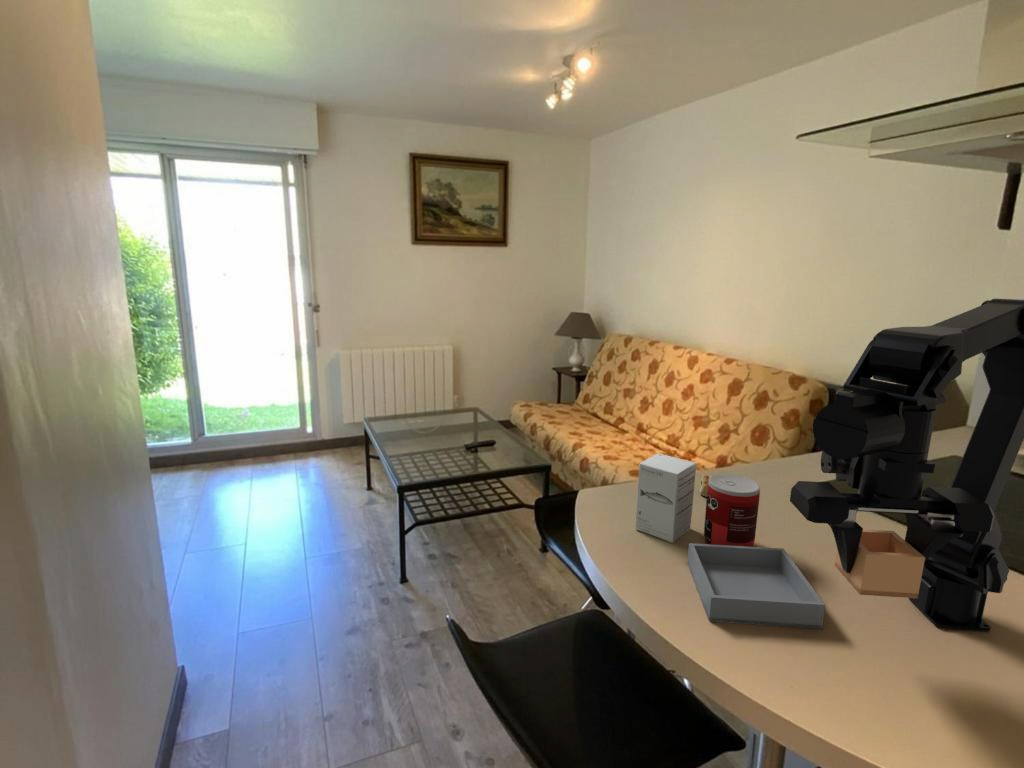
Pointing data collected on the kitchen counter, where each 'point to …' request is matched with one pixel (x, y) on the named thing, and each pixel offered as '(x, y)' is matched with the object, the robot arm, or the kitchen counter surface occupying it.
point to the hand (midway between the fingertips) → (875, 573)
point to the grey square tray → (753, 586)
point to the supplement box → (665, 496)
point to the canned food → (731, 510)
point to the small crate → (885, 566)
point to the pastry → (704, 485)
